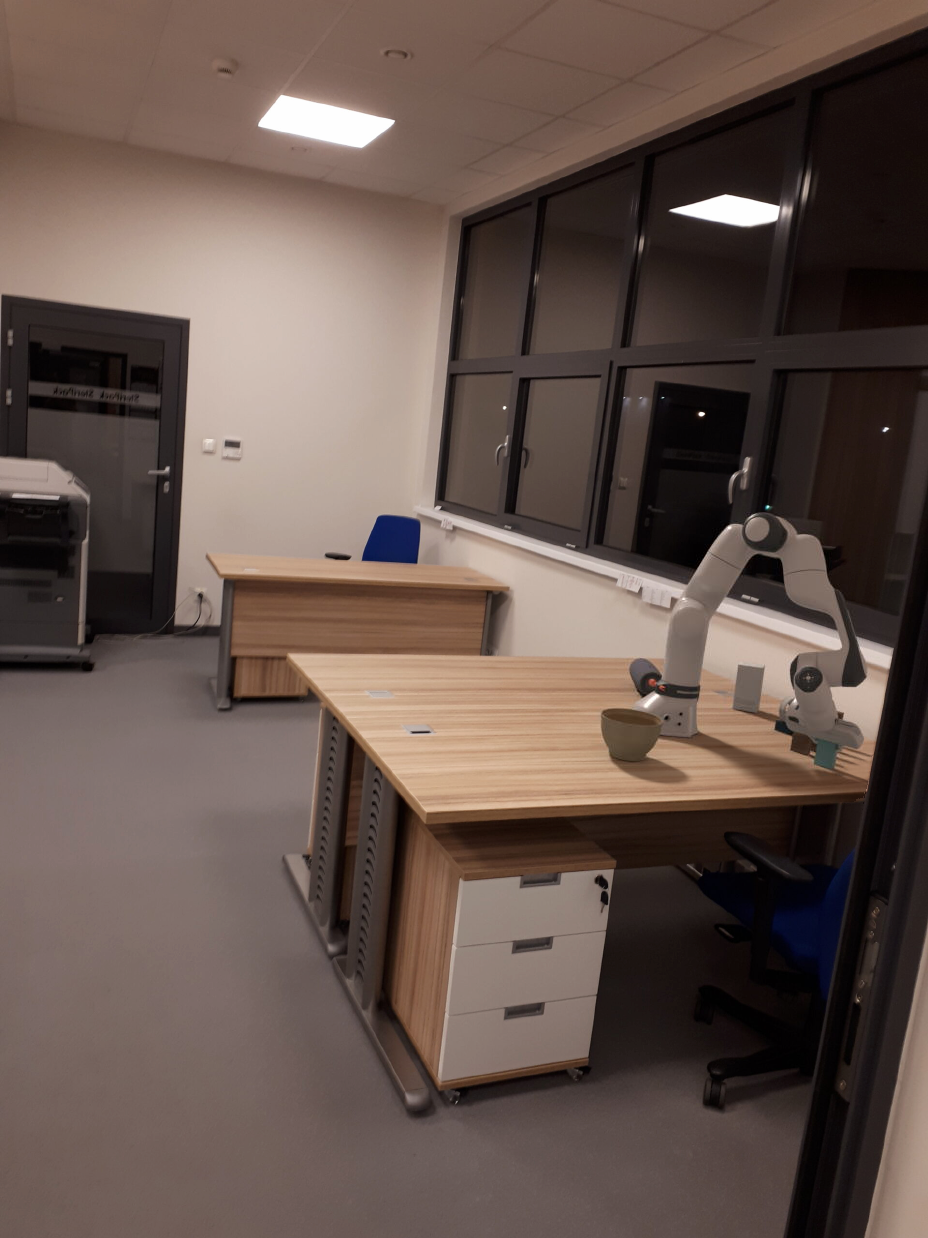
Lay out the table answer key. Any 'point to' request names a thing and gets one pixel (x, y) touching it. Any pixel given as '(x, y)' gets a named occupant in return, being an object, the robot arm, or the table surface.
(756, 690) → the skincare box
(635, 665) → the bluetooth speaker
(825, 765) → the teal domino
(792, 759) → the table surface
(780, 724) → the watch
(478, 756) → the table surface
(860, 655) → the robot arm
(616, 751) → the planter bowl
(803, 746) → the walnut domino
